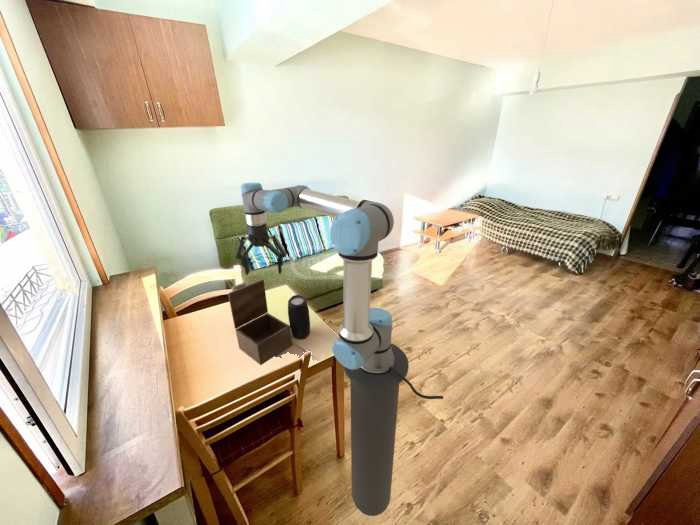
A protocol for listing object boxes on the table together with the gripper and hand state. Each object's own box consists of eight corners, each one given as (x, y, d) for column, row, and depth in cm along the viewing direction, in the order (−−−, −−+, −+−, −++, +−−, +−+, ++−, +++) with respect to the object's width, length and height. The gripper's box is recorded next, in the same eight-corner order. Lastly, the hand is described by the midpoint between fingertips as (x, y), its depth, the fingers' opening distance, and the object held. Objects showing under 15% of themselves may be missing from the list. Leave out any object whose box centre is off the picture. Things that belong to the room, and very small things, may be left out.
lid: (263, 279, 120) (253, 274, 125) (228, 293, 109) (219, 287, 113) (268, 312, 127) (258, 306, 132) (235, 328, 116) (226, 321, 120)
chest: (292, 344, 122) (290, 325, 118) (260, 365, 111) (257, 345, 107) (270, 330, 131) (267, 312, 127) (239, 348, 120) (235, 329, 116)
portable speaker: (295, 327, 133) (291, 292, 124) (313, 330, 131) (311, 295, 122) (287, 339, 125) (282, 304, 116) (307, 342, 123) (303, 307, 114)
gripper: (290, 220, 113) (295, 268, 121) (227, 222, 112) (236, 270, 120) (287, 225, 106) (292, 275, 114) (220, 227, 105) (231, 277, 113)
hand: (264, 272), depth 117 cm, fingers open, 13 cm apart
